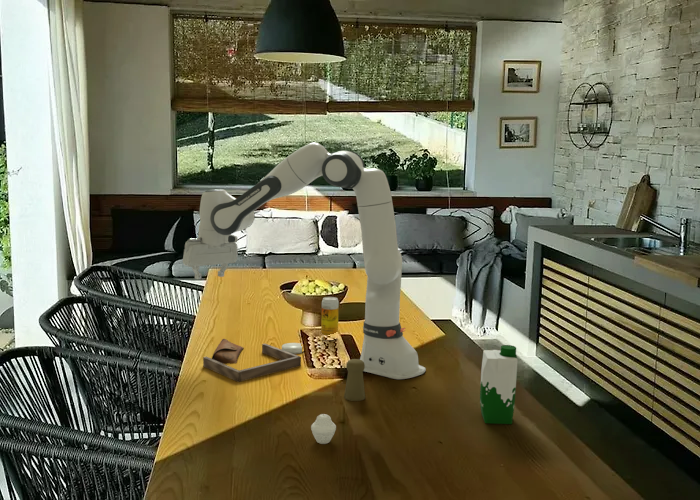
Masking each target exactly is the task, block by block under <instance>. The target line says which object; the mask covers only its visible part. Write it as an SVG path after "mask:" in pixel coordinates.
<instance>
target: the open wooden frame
mask: <svg viewBox="0 0 700 500" xmlns="http://www.w3.org/2000/svg"><path fill="white" fill-rule="evenodd" d="M261 346H262V347H261V353H262V354H264V355H267V356H270V357H272V358H275V359H277V360H276V361H272V362H269V363H264V364H261V365H256V366H252V367H248V368H244V369H237V368H235V367H232V366H230V365H228V364H226V363H220V362H218V361H216V360H213V359H212V357H210V356H209V357H208V356H203V358H202V362H203V363H202V365H203V367H204V368H206V369H209V370H211V371H212V370H213V372H215V373H218V374H219V375H222V376H224V377H226V378H228V379H231V380H233V381H235V382H238V383H240V382H244V381H247V380H251V379H255V378H259V377H262V376H266V375H270V374H274V373H279V372H282V371H287V370H291V369H294V368H298V367H301V366H302V356H300V355H297V354H292V353H289V352H287V351H284V350H282V348H278V347H276V346H272V345H270V344H268V343H262V344H261Z"/></svg>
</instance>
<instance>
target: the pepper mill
mask: <svg viewBox="0 0 700 500" xmlns="http://www.w3.org/2000/svg"><path fill="white" fill-rule="evenodd" d="M364 368H365V364H364V362H363V361H362V360H360V358H352V359H349V360H348V361H347V362H346V369H347V376H346V384H345V389H344V396H343V398H344V399H345V400H347V401H351V402H360V401H363V400H365V399H366V393H365V391H366V390H365V383H364V373H363V372H365V371H364Z"/></svg>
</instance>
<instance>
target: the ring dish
mask: <svg viewBox="0 0 700 500" xmlns="http://www.w3.org/2000/svg"><path fill="white" fill-rule="evenodd" d="M301 344H302V343H301V342H300V343H299V342H287V343H283V344H282V345H281V350H284V351H287V352H289V353H292V354H295V355H297V354H298V355H299V354H302V346H301Z"/></svg>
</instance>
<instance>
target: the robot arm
mask: <svg viewBox="0 0 700 500" xmlns="http://www.w3.org/2000/svg"><path fill="white" fill-rule="evenodd" d="M319 177H323V179H324V180H325V182H326V183H328V184H329V185H331V186H333V187H337V188H343V189H348V190H353V191H354V193H355V197H356V203H357V204H356V206H357V210H358V211H357V212H358V217H359V223H360V231H361V243H362V245H361V246H362V255H363V264H364V270H365V274H366V276H367V278H366V279H367V280H366V291H365V292H366V293H365V301H364V302H365V304H364V305H365V307H364V308H365V310H364V311H365V312H364V320H363V326H362V329H363V330H362V333H363V340H362V348H361V353H360V357H359V360H362V361H363V362H364V364H365V368H364V371H363V372H365V373H366V372H367V373H371V374H374V375H378V376H381V377H386V378H389V379H394V380H405V379H410V378H415V377H418V376H420V375H421V376H422V375H424V374H425V372H426V369H427V368H426V367H424V366H423V365H420V364H419V355H418V352H417V351H416V349H415V348H414V347H413V346H412V345H411V344H410V342H409V341H408V340H407V339H406V338H405V337H404V336H403V335H404V333H403V332H406V330H405V329H406V327H402V326H401V323H400V308H401V307H400V303H401V289H402V287H401V285H402V271H403V269H402V268H403V256H402V253H401V251H400V250H399V246H398V244H399V243H398V238H397V237H398V236H397V235H398V234H397V225H396V218H395V212H394V205H393V198H392V194H391V193H392V192H391V189H390V185H389V181H388V178H387V175H386V174H385V172H384V171H383V170H382V169H379V168H376V167H375V168H374V167H373V168H372V167H370V168H366V167H365V162H364V159H363V158H362V157H361V155H359V154H358V153H357V152H355V151H352V150H339V151H334V152H329V151H328V150H327V149H326V147H324V145H322V144H320V143H319V142H310V143H308V144H306V145H303V146H301V147H300V148H298V149H296V150H295V151H293V152H292V153H290V154H289V155H288V156H286V157H285V158H284V159H283V160H282V161H280V162H279V163H278V164H277V165H275V167H274V168H273V169H271V171H270V172H268V173H267V174H266V175H265V176H264V177H263V178H262V179H260V181H259V182H258V183H255V184H254V185H253V186H252V187H251V188H249V189H248V190H246V191H245V192H244V193H242V194H241V195H239V196H238V197H234V196H232V195H231V194H230V193H228V191H227V190H225V189H224V188H223V189H222V188H217V189H215V188H214V189H208V190H205V191H204V192H202V195H201V198H200V205H199V218H200V219H199V225H198V235H197V237H196V238H192V237H191V238H188V239H187V241H185V244H184V249H183V257H182V264H183V265H184V266H185V267H188V268H191V269H192V272H193V273H194V279H195V280H201V279H202V276H203V275H202V273H200V272H199V270H200V267H203V266H204V267H205V266H217V265H220V270H217V277H220V278H223V277H225V272H226V270H227V268H228V266H229V264H235V263H236V262H237V260H238V253H239V251H238V250H239V249H238V245H237V243H238V237H237V236H236V235H233V234H234V233H236V232H239V231H242V230H245V229H248V228H250V227H251V226H252V225H253V224H254V221H255V217H256V216H255V211H256V210H257V209H259V208H260V207H261V206H263V205H264V204H266V203H267V202H270V201H272V200H274V199H278V198H283V197H285V196H289V195H292V194H295V193H297V192H299V191H301V190H302V189H304V188H306V187H307V186H308V185H310V183H313V181H315V180H316V179H318V178H319Z"/></svg>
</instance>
